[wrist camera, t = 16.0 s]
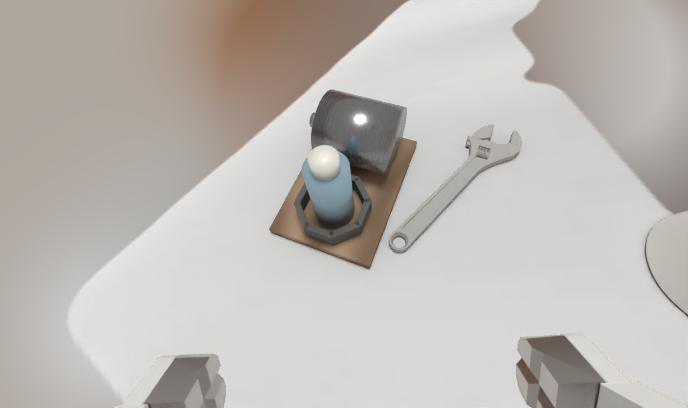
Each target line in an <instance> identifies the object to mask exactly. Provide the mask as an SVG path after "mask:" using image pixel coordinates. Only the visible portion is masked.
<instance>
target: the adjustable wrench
mask: <svg viewBox="0 0 688 408" xmlns="http://www.w3.org/2000/svg"><path fill="white" fill-rule="evenodd" d="M493 127H494V125H488V126H485V127H482V128H480V129H479V130H478V131H476V132H475V133H474V135H473V136H472V137H470V136H468V139H467V141H466V147H469V158H468V160H467V161H466V162H465V163H464V164H463V165H462V166H461V167H460V168H459V169H458V170H457V171H456V172H455V173H454V174H453V175H452V176H451V177H450V178H449V179H448V180H447V181H446V182H445V183H443V184H442V185H441V186H440V187H439V188H438V189H437V190H436V191H435V192H434V193H433V194H432V195H431V196H430V197H429V198H428V199H427V200H426V201H425V202H424V203H423V204H422V205H421V206H420V207H419V208H418V209H417V210H416V211H415V212H414V213H412V214H411V215H410V216H409V217H408V218H407V219H406V220H405V221H404V222H403V223H402V224H401V225H400V226H399V227H398V228H397V229H396V230H395V231H394V232H393V233H392V234H391V235H390V238H389V246H390V248H391V249H392V250H393V251H395V252H398V253H399V252H404V251H406V250H407V249H408V248H409V247H410V246H411V245H412V244H413V243H414V241H415V240H416V239H417V238H418V237H419V236H420V235H421V234H422V233H423V232H424V231H425V230H426V229H427V228H428V226H429V225H430V224H431V223H432V222H433V221H434V220H435V219H436V218H437V217H438V216H439V215H440V214H441V213H442V211H443V210H444V209H445V208H446V207H447V206H448V205H449V204H450V203H451V202H452V201H453V200H454V199H455V198H456V196H457V195H458V194H459V193H460V192H461V191H462V190H463V189H464V188H465V187H466V186H467V185H468V184H469V183H470V181H471V180H472V179H473V178H474V177H475V176H476V175H477V174H478V173H480V172H481V171H483V170H485V169H487V168H489V167H492V166H494V165H497V164H500V163H504V162H507V161H510V160H512V159H513V158H514V157H515V156H516V155H517V153H518V152H519V150H520V148H521V146H522V141H521V137H520V135H519V134H518V132H516V131H513V133H512V135H511V137H510V141H509V143H507V144H501V145H500V144H496V143H493V142H490V141H489V140H490V138H491V134H492V131H493ZM397 236H401V237H403V238H404V239H405V241H406V244H405V246H404V247H403V248H396V247H395V246H394V245H393V239H394V238H395V237H397Z"/></svg>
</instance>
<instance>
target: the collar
mask: <svg viewBox="0 0 688 408" xmlns="http://www.w3.org/2000/svg"><path fill="white" fill-rule="evenodd" d="M351 181H352V190H355V191H356V193H357V194H358V196H359V198H360V200H361V202H362V204H363V205H362V208H361V210H360V212H359V215H358V217H357V219H356V222H354V223H351V224H349V225H346V226H344V227H341V228H339V229H337V230H334V231H329V230H326V229H323V228H320V227H317V226H314V225H312V224H309V223H308V221H307V219H306V216H305V214H304V210H305V208H306V206H307V204H308V202H309V200H310V196H309V193H308V190H307V187H306V184H305V182H304V184H303V186H302V188H301V190H300V192H299V194H298V195H297V197H296V199H295V201H294V206H295V209H296V211H297V214H298V216H299V219H300V221H301V224H302V226H303V229H304V231H305V233H306V235H307V236H309V237H311V238H314V239H317V240H320V241H322V242H325V243H328V244H331V245H333V246H334V245H337V244H339V243H341V242H344V241H346V240H348V239H351V238H353V237H356V236H358V235H360V234H362V231H363V229H364V226H365V224H366V221H367V219H368V217H369V214H370V212H371V209H372V200H371V198H370V196H369V194H368V192H367V191H366V189H365V187H364V185H363V183H362V181H361V179H360V177H358V176H355V175H351Z"/></svg>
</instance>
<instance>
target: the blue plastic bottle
mask: <svg viewBox="0 0 688 408" xmlns="http://www.w3.org/2000/svg"><path fill="white" fill-rule="evenodd" d="M302 176H303V179H304V182H305V184H306V187H307V190H308V193H309V196H310V199H311V202H312V205H313V208H314V211H315V213H316V216H317V219H318V221H319V222H320V223H321V224H322V225H324V226H325V227H328V228H341V227H343V226H345V225H347V224H348V223H349V222H350V221H351V220H352V218H353V216H354V212H355V208H354V199H353V190H352V181H351V172H350V164H349V161H348V159H347V158H346V156H345V155H344V154H342V153H341V152H339V151H337V150H336V149H335V148H333V147H332V146H328V145H321V146H318V147H315V148H314V149H313V150H312V151H311V152H310V153H309V155H308V157H307V159H306V160H305V161H304V163H303V166H302Z"/></svg>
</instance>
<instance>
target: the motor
mask: <svg viewBox="0 0 688 408" xmlns="http://www.w3.org/2000/svg"><path fill="white" fill-rule="evenodd" d="M406 115H407V109H406V107H403V106H399V105H395V104H390V103H386V102H382V101H378V100H374V99H370V98H366V97H361V96H357V95H353V94H349V93H345V92H341V91H336V90H329V91H327V92H326V93H325V95H324V96H323V97H322V99H321V101H320V103H319V105H318V107H317V110H316V113H313V114H312V115H311V117H310V127H312V132H311V144H312V149H314V148H315V147H318V146H321V145H328V146H332V147H333V148H335V149H336V150H337V151H339V152H341V153H342V154H344V155H345V156H346V158H347V159H348V161H349V164H350V165H352V166H355V167H359V168H362V169H365V170H369V171H372V172H376V173H379V174H382V175H387V174H388V173H389V171H390V170H391V168H392V166H393V163H394V161H395V158H396V155H397V153H398V150H399V146H400V143H401V140H402V136H403V132H404V127H405V122H406Z"/></svg>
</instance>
